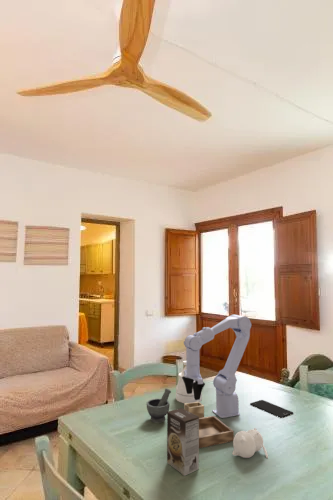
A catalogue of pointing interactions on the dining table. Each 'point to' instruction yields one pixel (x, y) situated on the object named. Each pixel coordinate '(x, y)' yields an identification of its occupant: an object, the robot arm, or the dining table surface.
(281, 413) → the cell phone
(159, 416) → the mortar and pestle
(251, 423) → the dining table surface
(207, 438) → the large crate
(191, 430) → the coffee box
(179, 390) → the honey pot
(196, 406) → the small crate
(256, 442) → the cat figurine
